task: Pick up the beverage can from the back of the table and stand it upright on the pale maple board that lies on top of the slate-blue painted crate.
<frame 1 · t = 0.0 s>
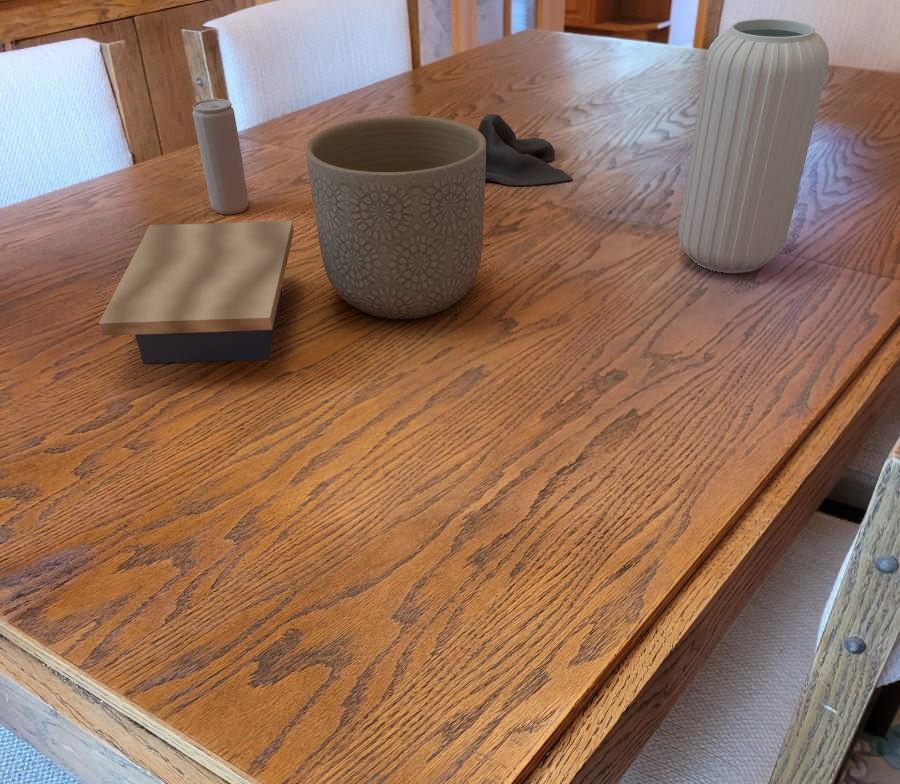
planter: (404, 300, 95), on the table
beverage can: (231, 210, 114), on the table
vase: (726, 260, 101), on the table
cloth: (498, 166, 124), on the table
crate: (217, 327, 91), on the table
board: (206, 279, 88), resting on crate
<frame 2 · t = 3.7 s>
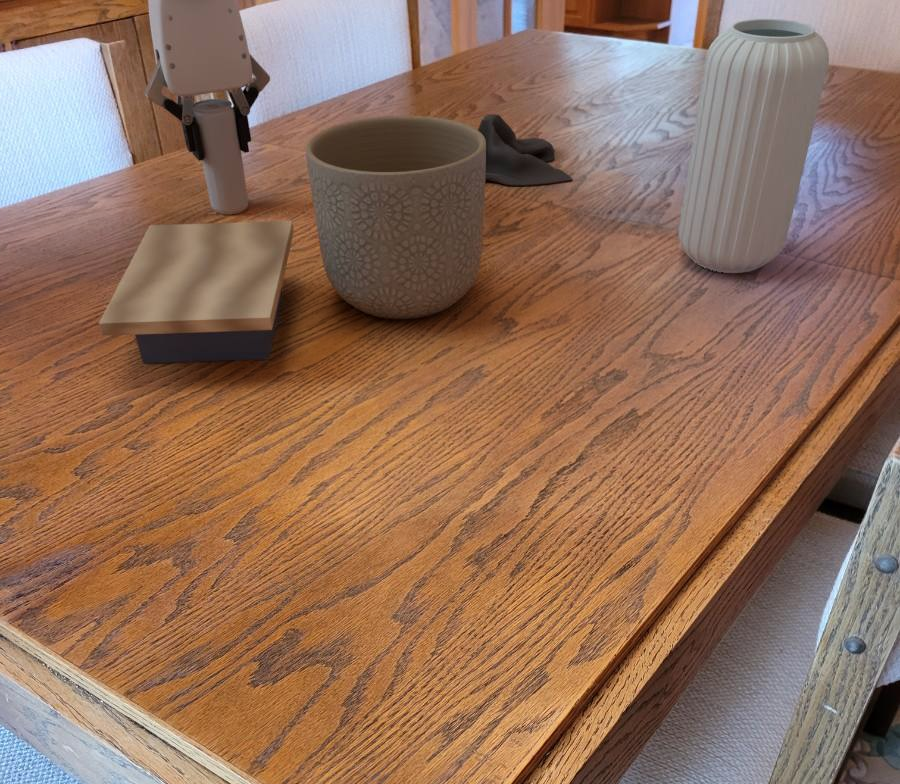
hand: (220, 151, 109), 7 cm above the table, tool pointing down, fingers closed on beverage can, 4 cm apart
beverage can: (231, 210, 114), on the table, touching gripper
everything else where it was.
when the fingers open (13 cm above the table, at t = 11.2 s): beverage can stays where it is, resting on board.
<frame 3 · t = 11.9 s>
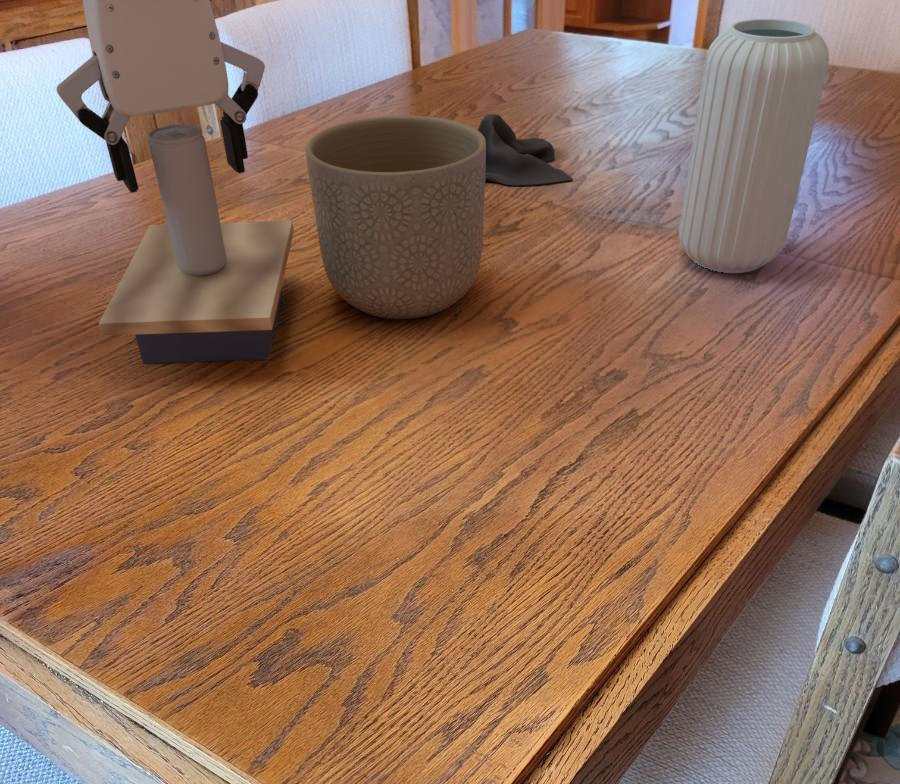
hand: (184, 177, 81), 14 cm above the table, tool pointing down, fingers open, 9 cm apart
beverage can: (203, 269, 87), point 6 cm above the table, touching board
everything else where it was.
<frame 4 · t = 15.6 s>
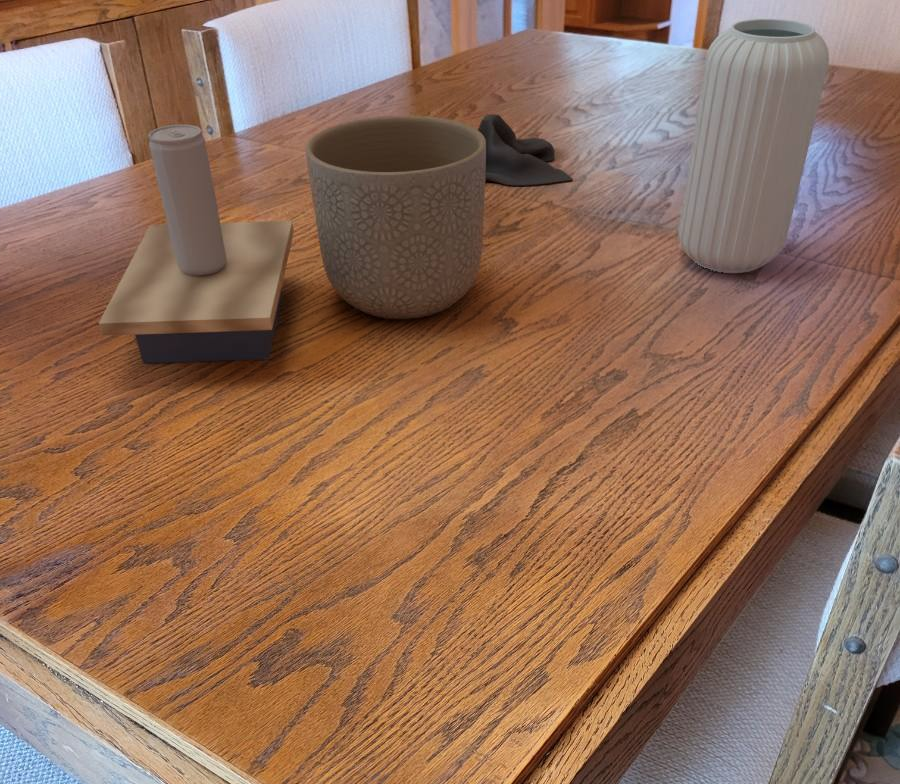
nothing on the table moved.
at the end: beverage can inside the target area on the board (0.1 cm from its centre), point 1.0 cm above the board's base; beverage can tilted 0°; the gripper is holding nothing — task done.
